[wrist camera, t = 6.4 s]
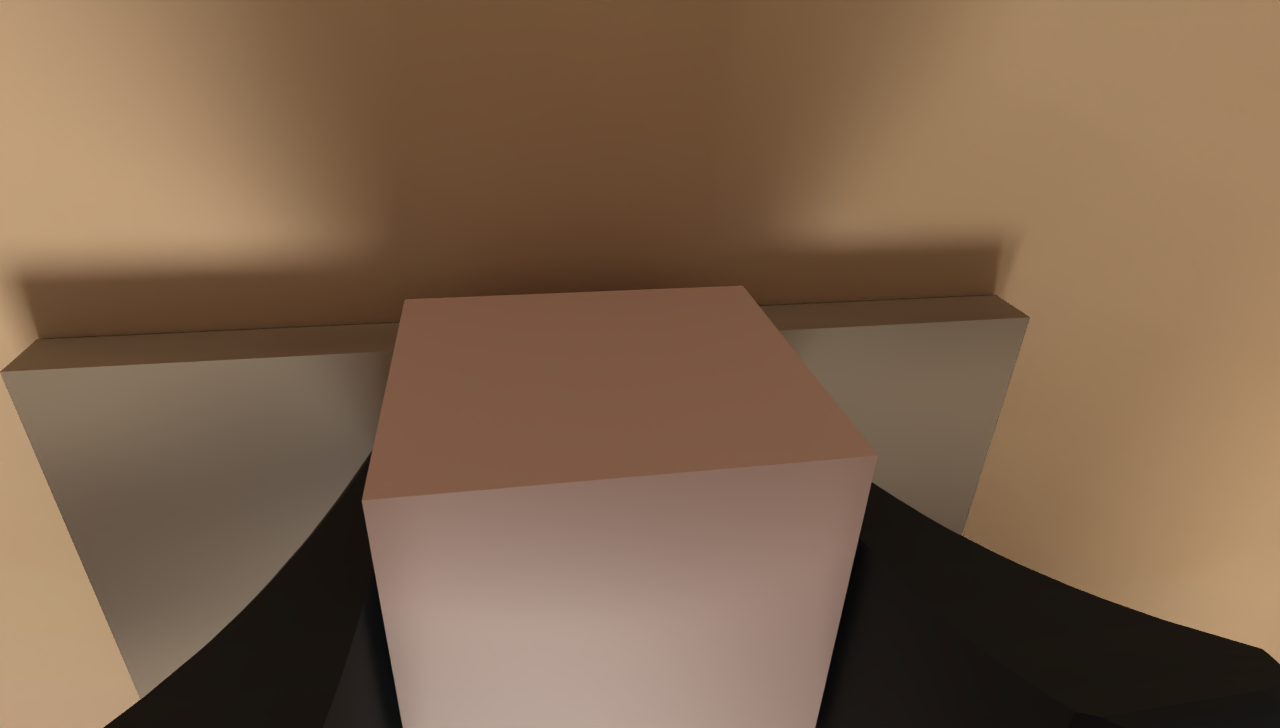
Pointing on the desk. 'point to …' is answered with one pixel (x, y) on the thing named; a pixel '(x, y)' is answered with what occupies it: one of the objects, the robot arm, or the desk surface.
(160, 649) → the ticket board
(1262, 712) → the robot arm
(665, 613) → the tall pink cuboid
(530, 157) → the desk surface
